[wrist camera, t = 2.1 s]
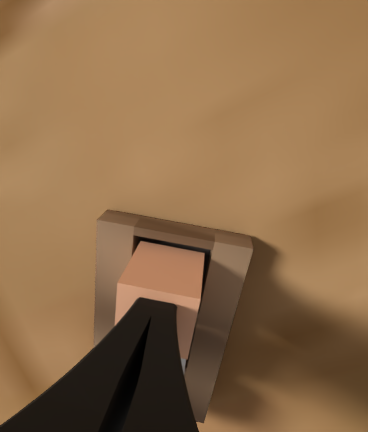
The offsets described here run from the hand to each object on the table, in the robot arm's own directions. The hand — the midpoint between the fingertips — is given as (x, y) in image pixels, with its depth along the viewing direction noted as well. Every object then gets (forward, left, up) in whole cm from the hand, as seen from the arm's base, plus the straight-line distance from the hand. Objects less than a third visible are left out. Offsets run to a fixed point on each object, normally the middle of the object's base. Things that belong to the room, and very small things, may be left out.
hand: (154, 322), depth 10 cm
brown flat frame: (-4, 0, -4) cm, 5 cm away
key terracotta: (0, 0, -3) cm, 3 cm away
